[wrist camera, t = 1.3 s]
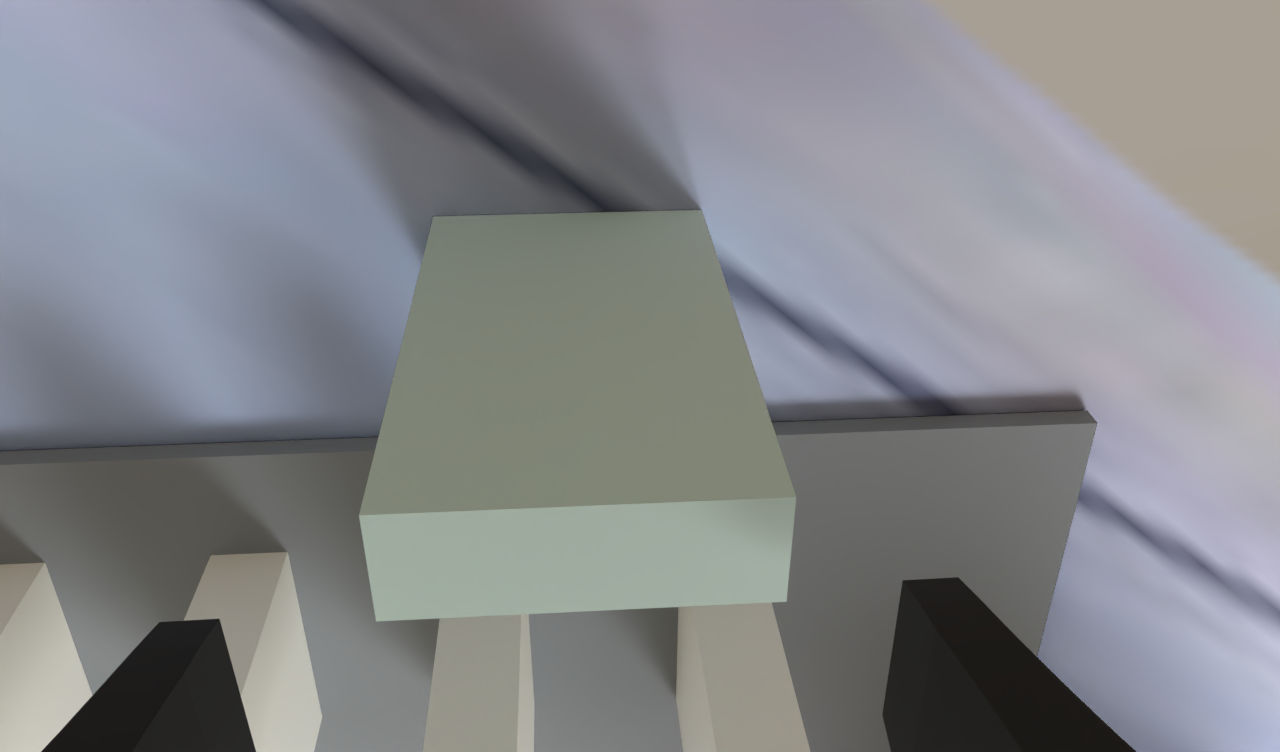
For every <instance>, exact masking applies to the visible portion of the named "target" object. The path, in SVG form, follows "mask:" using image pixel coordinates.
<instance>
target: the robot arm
mask: <svg viewBox="0 0 1280 752" xmlns="http://www.w3.org/2000/svg"><path fill="white" fill-rule="evenodd" d="M882 716H883V720H884V724H885V728H886V733H887V737H888V741H889V745H890V750H891V752H1136V751H1135V750H1134V749H1133V748H1132V747H1130V746H1129V745H1128V744H1127V743H1126V742H1125V741H1124V740H1123V739H1122V738H1120V737H1119V736H1118V735H1117V734H1116V733H1115V732H1114V731H1113V730H1112V729H1111V728H1110V727H1109V726H1108V725H1107V724H1106V723H1105V722H1104V721H1102V720H1101V719H1100V718H1099V717H1098V716H1097V715H1096V714H1095V713H1094V712H1093V711H1092V710H1091V709H1090V708H1089V707H1088V706H1087V705H1086V704H1085V703H1083V702H1082V701H1081V700H1080V699H1079V698H1078V697H1077V696H1076V695H1075V694H1074V693H1073V692H1072V691H1071V690H1070V689H1069V688H1068V687H1067V686H1066V685H1065V684H1064V683H1063V682H1062V681H1061V680H1060V679H1059V678H1058V677H1057V676H1056V675H1055V674H1054V673H1052V672H1051V671H1050V670H1049V669H1048V668H1047V667H1046V666H1045V665H1044V663H1043V662H1042V661H1041V660H1040V659H1039V658H1038V657H1037V656H1036V655H1035V654H1034V653H1033V652H1032V651H1031V650H1030V649H1029V648H1028V647H1027V646H1026V645H1025V644H1024V643H1023V642H1022V641H1021V640H1020V639H1019V638H1018V637H1017V636H1016V635H1015V634H1014V633H1013V632H1012V631H1011V630H1010V629H1009V628H1008V627H1007V626H1006V625H1005V624H1004V623H1003V622H1002V621H1001V620H1000V619H999V618H998V617H997V616H996V615H995V614H994V613H993V612H992V611H991V610H990V609H989V608H988V607H987V605H986V604H985V603H984V602H983V601H982V600H981V599H980V598H979V597H978V596H977V595H976V594H975V593H974V592H973V591H972V590H971V589H970V588H969V587H968V586H967V585H966V584H965V583H964V582H963V581H962V580H961V579H960V578H959V577H953V578H936V579H918V580H903V581H902V588H901V594H900V601H899V607H898V614H897V621H896V627H895V634H894V641H893V647H892V654H891V660H890V667H889V674H888V680H887V687H886V693H885V700H884V707H883V713H882ZM41 752H256V750H255V746H254V742H253V739H252V735H251V731H250V728H249V724H248V721H247V717H246V713H245V710H244V706H243V702H242V699H241V695H240V691H239V688H238V684H237V681H236V677H235V673H234V670H233V666H232V662H231V659H230V655H229V652H228V648H227V644H226V641H225V637H224V633H223V630H222V626H221V623H220V619H204V620H186V621H168V622H159V623H158V624H157V625H156V626H155V627H154V628H153V629H152V630H151V631H150V632H149V634H148V635H147V636H146V637H145V638H144V639H143V640H142V641H141V642H140V643H139V644H138V645H137V646H136V648H135V649H134V650H133V651H132V652H131V653H130V654H129V655H128V656H127V657H126V659H125V660H124V661H123V662H122V663H121V664H120V665H119V666H118V668H117V669H116V670H115V671H114V672H113V673H112V674H111V675H110V676H109V678H108V679H107V680H106V681H105V682H104V683H103V684H102V685H101V686H100V688H99V689H98V690H97V691H96V692H95V693H94V694H93V695H92V697H91V698H90V699H89V700H88V701H87V702H86V703H85V704H84V705H83V706H82V708H81V709H80V710H79V711H78V712H77V713H76V714H75V715H74V716H73V718H72V719H71V720H70V721H69V722H68V723H67V724H66V725H65V726H64V727H63V729H62V730H61V731H60V732H59V733H58V734H57V735H56V736H55V737H54V738H53V739H52V740H51V741H50V743H49V744H48V745H47V746H46V747H45V748H44V749H43V750H42V751H41Z"/></svg>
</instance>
